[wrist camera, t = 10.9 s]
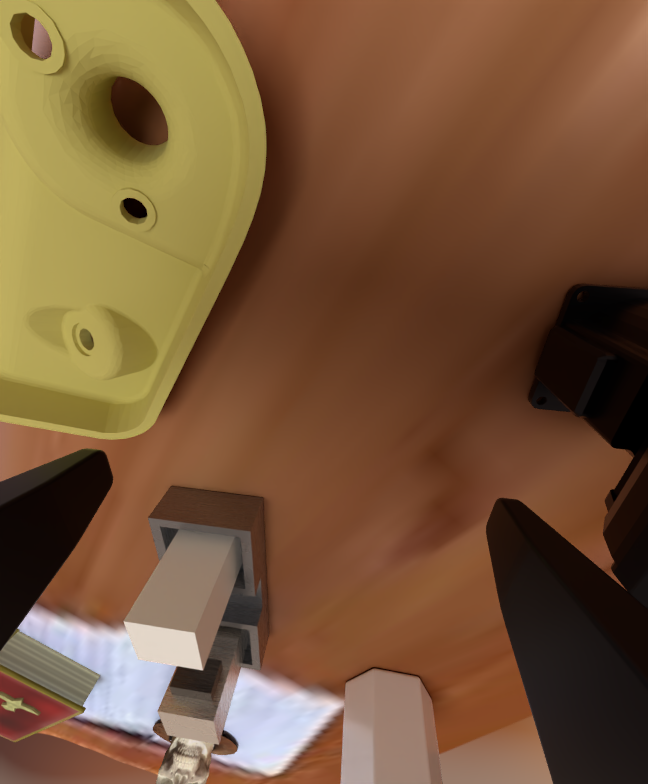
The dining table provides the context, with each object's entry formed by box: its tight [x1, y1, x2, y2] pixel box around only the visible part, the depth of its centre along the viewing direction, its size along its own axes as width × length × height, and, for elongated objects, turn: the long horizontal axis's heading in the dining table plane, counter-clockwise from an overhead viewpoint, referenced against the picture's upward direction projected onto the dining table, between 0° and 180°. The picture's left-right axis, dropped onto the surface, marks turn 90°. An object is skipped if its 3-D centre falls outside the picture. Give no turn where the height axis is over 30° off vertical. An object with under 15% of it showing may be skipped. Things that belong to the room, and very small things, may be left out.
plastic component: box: [0, 0, 266, 439], centre depth 16 cm, size 20×7×10 cm
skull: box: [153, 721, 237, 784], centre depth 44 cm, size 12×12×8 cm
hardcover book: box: [0, 629, 100, 742], centre depth 43 cm, size 12×21×4 cm, turn 133°
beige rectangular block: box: [124, 529, 242, 670], centre depth 23 cm, size 4×5×7 cm
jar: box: [341, 668, 443, 784], centre depth 30 cm, size 9×8×12 cm
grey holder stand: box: [148, 486, 269, 745], centre depth 26 cm, size 7×18×8 cm, turn 177°
